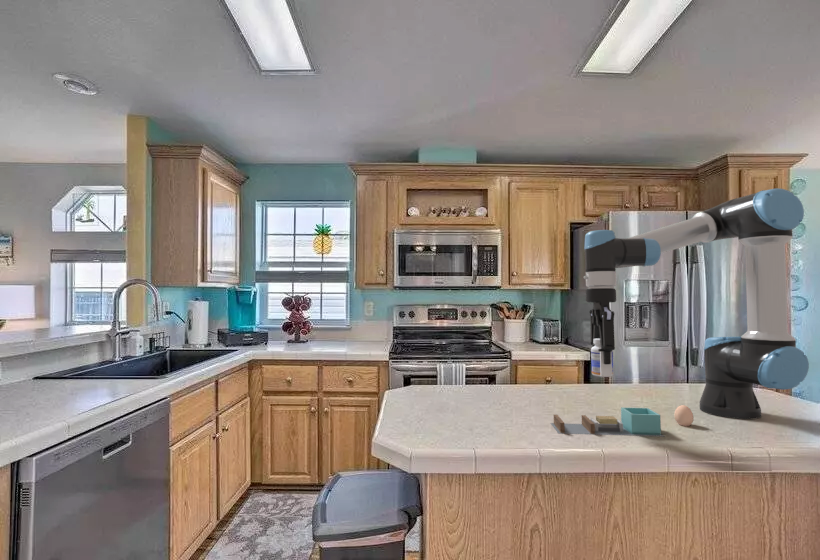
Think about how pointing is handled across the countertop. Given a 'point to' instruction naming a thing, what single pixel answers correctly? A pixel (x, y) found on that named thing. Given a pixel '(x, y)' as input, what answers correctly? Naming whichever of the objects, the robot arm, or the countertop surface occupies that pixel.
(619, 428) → the cradle base
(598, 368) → the pill bottle
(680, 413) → the egg
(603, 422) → the pad
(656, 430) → the teal open box
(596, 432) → the mat
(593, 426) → the trough
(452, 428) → the countertop surface
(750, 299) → the robot arm
